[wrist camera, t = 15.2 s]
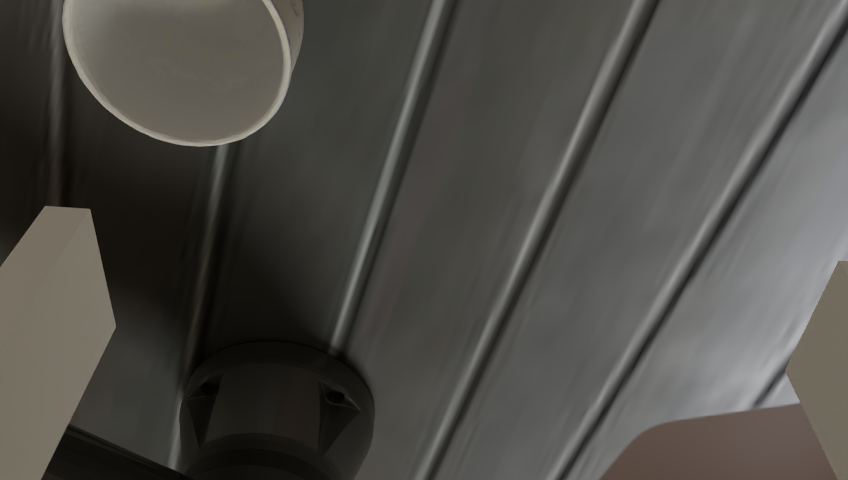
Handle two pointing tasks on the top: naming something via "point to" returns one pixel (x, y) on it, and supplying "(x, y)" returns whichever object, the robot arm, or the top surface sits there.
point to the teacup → (186, 63)
